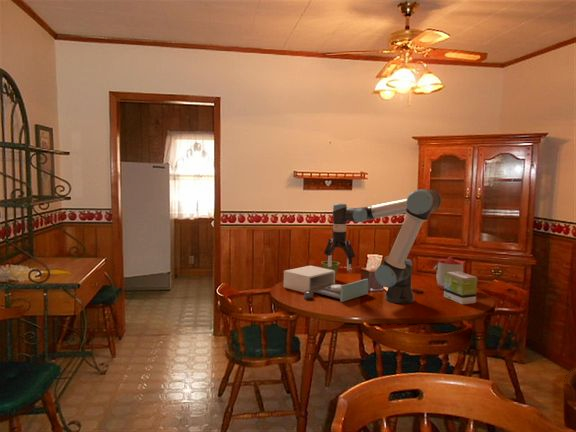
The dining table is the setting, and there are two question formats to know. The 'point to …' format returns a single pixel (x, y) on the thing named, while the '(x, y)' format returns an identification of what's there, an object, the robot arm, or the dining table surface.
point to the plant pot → (333, 267)
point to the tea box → (460, 287)
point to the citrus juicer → (447, 269)
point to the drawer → (344, 290)
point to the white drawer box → (308, 278)
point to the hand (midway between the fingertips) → (339, 268)
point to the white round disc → (336, 287)
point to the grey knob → (308, 295)
